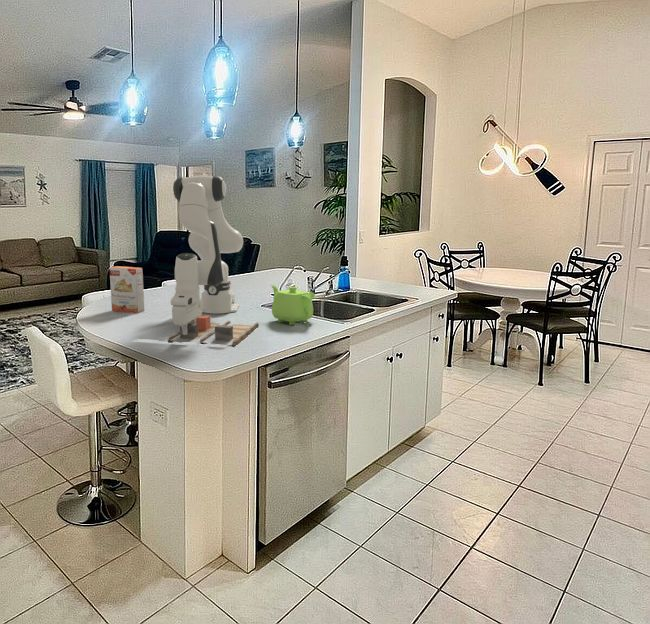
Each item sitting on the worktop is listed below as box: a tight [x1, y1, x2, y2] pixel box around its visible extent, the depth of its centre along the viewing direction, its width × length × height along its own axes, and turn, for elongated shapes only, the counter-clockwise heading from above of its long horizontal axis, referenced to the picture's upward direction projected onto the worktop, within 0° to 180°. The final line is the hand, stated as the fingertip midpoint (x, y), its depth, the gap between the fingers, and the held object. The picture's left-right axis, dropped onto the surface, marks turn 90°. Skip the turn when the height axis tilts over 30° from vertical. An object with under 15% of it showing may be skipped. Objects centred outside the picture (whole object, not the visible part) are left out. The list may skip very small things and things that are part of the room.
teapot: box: [270, 284, 316, 326], centre depth 246 cm, size 25×22×16 cm
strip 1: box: [176, 322, 220, 340], centre depth 220 cm, size 26×8×6 cm, turn 171°
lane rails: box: [168, 320, 260, 347], centre depth 219 cm, size 32×26×2 cm
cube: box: [195, 314, 211, 330], centre depth 222 cm, size 5×5×5 cm
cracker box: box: [109, 265, 145, 314], centre depth 256 cm, size 14×6×21 cm, turn 76°
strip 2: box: [212, 324, 252, 342], centre depth 218 cm, size 26×8×6 cm, turn 171°
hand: (188, 332), depth 209 cm, fingers open, 5 cm apart
